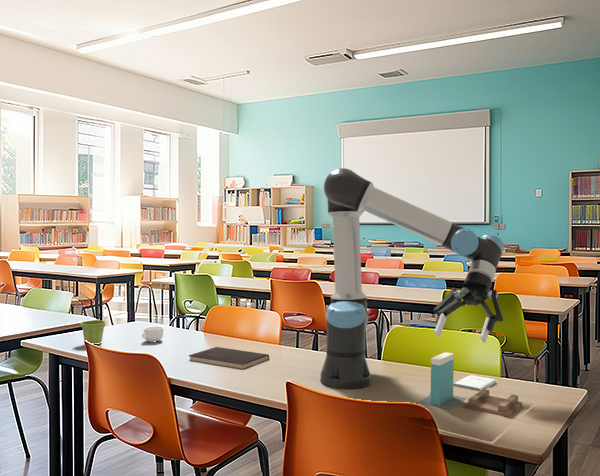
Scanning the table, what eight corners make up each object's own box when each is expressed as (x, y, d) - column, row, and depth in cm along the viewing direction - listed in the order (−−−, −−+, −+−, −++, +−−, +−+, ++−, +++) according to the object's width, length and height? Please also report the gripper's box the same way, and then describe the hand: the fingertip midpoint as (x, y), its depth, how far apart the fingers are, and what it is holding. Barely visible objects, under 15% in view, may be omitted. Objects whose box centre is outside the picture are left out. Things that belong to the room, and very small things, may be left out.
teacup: (153, 338, 227) (153, 325, 227) (167, 340, 224) (167, 327, 224) (135, 343, 219) (135, 329, 219) (149, 345, 215) (149, 331, 215)
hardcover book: (242, 370, 180) (242, 363, 180) (188, 361, 192) (188, 355, 192) (269, 360, 194) (269, 354, 194) (217, 352, 206) (217, 346, 205)
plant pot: (88, 341, 221) (88, 319, 221) (110, 342, 220) (110, 320, 219) (75, 346, 212) (75, 323, 211) (98, 347, 210) (98, 324, 210)
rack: (480, 398, 151) (480, 388, 151) (521, 406, 145) (521, 396, 145) (464, 408, 143) (465, 398, 143) (508, 418, 136) (508, 407, 136)
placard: (444, 395, 152) (445, 352, 152) (453, 397, 151) (453, 353, 151) (430, 403, 145) (431, 358, 145) (439, 405, 144) (440, 359, 144)
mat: (435, 393, 156) (435, 391, 156) (466, 399, 150) (466, 398, 150) (416, 403, 146) (416, 402, 146) (449, 411, 141) (449, 409, 141)
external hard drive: (452, 388, 162) (469, 379, 172) (480, 394, 157) (495, 384, 167) (452, 382, 162) (469, 374, 172) (480, 388, 157) (496, 378, 167)
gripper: (525, 288, 161) (507, 349, 150) (445, 284, 177) (424, 339, 166) (518, 272, 156) (499, 333, 145) (437, 269, 173) (414, 324, 162)
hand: (459, 336), depth 156 cm, fingers open, 13 cm apart
